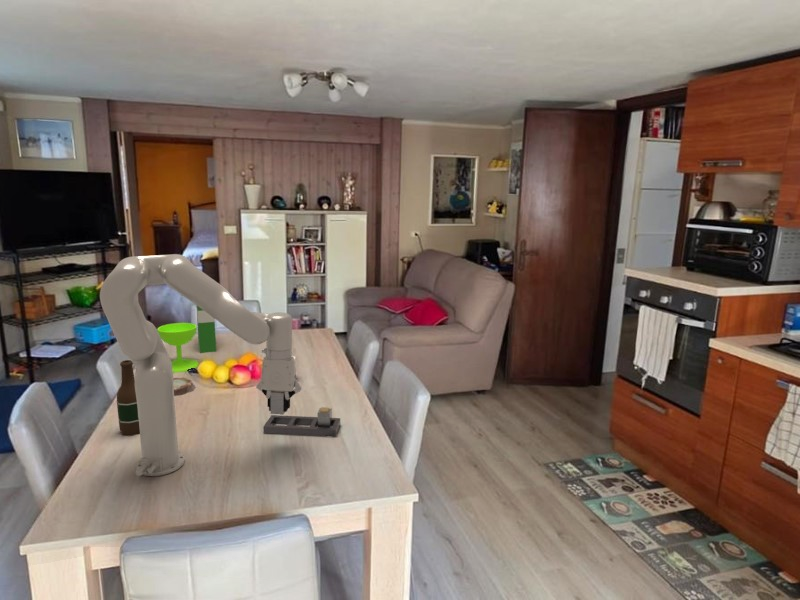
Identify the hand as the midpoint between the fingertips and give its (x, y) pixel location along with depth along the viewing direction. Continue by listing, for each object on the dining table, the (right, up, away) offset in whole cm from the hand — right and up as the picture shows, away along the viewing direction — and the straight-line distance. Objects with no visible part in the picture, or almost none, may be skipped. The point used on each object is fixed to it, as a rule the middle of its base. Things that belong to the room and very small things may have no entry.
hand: (278, 409), depth 162 cm
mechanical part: (-11, 0, +56) cm, 57 cm away
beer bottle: (-50, -9, +9) cm, 52 cm away
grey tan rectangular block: (+12, -10, +13) cm, 21 cm away
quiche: (-52, -2, +45) cm, 69 cm away
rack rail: (+5, -10, +13) cm, 17 cm away
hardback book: (-59, +10, +99) cm, 116 cm away
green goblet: (-61, +4, +71) cm, 93 cm away
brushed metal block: (0, -1, 0) cm, 1 cm away
